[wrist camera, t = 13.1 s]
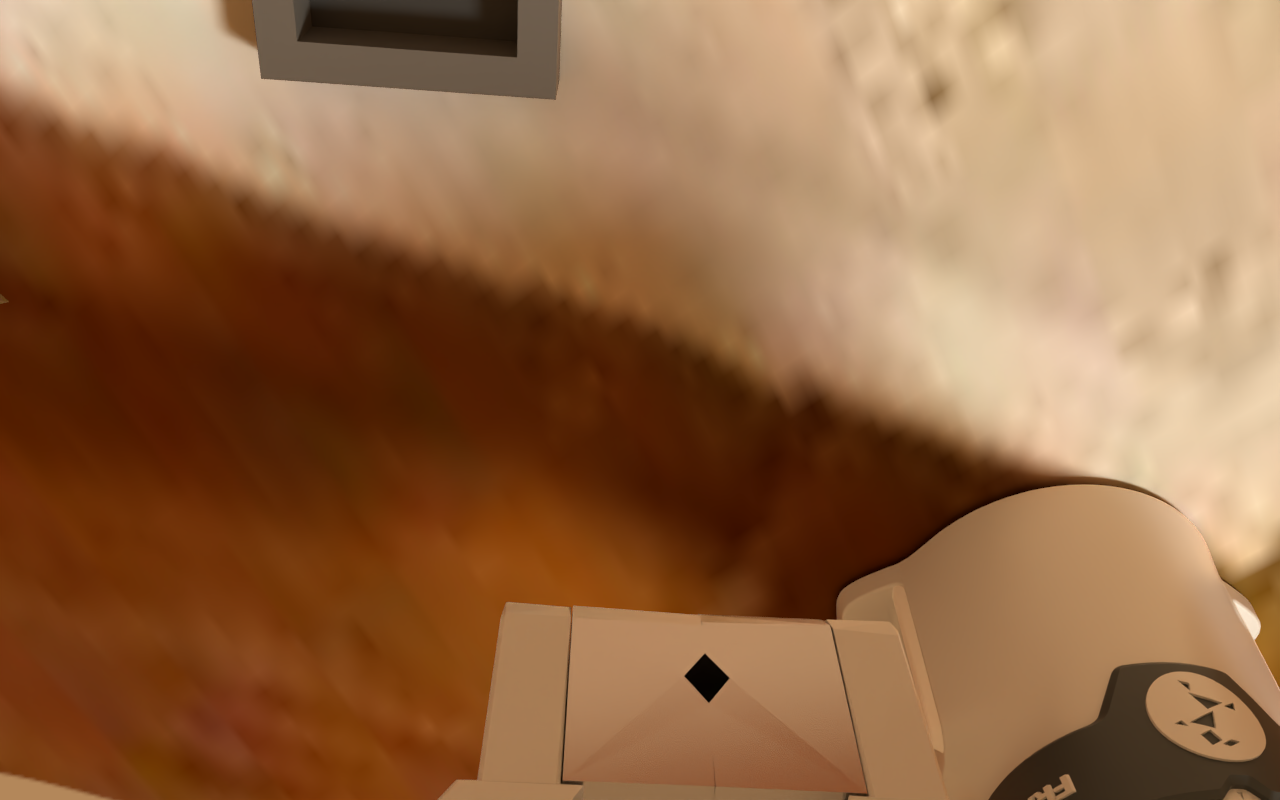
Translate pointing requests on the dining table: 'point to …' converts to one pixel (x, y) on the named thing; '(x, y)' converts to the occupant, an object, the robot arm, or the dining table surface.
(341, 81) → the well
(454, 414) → the dining table surface
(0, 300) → the game die
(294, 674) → the dining table surface
